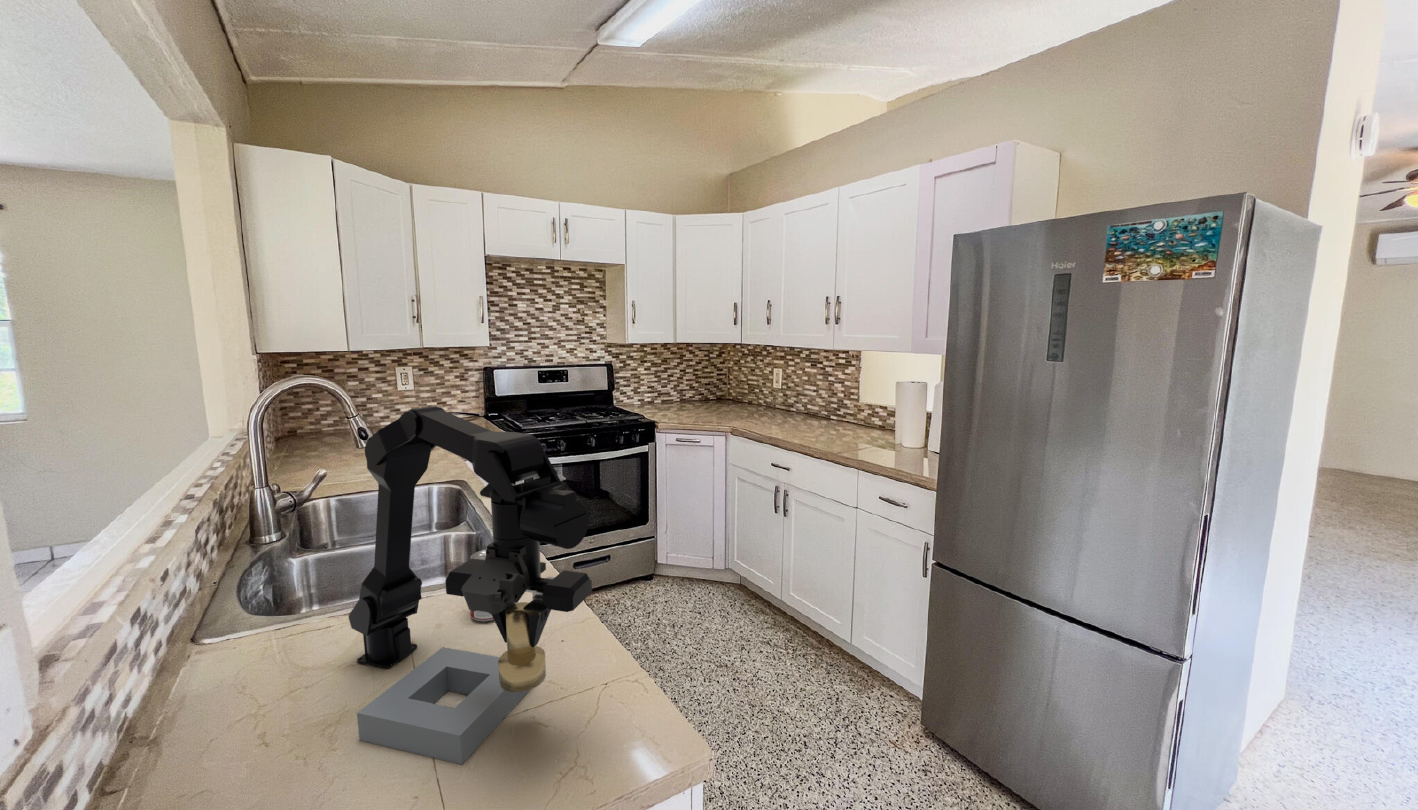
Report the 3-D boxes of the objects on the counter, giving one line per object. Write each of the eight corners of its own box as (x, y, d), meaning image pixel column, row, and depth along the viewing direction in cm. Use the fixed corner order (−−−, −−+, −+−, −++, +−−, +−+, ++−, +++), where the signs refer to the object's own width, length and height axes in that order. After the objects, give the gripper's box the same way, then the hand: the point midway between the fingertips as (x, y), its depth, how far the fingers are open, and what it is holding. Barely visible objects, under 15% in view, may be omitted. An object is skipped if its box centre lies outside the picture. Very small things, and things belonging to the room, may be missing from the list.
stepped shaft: (489, 687, 75) (485, 616, 74) (516, 661, 81) (513, 595, 79) (530, 695, 74) (526, 623, 72) (554, 668, 79) (551, 601, 78)
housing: (359, 740, 76) (356, 712, 75) (444, 670, 91) (442, 647, 91) (461, 764, 72) (459, 735, 71) (532, 686, 87) (531, 662, 86)
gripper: (409, 548, 69) (418, 667, 71) (546, 565, 64) (552, 692, 66) (470, 517, 80) (476, 622, 82) (592, 530, 75) (595, 641, 77)
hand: (521, 643), depth 77 cm, fingers closed on stepped shaft, 4 cm apart
